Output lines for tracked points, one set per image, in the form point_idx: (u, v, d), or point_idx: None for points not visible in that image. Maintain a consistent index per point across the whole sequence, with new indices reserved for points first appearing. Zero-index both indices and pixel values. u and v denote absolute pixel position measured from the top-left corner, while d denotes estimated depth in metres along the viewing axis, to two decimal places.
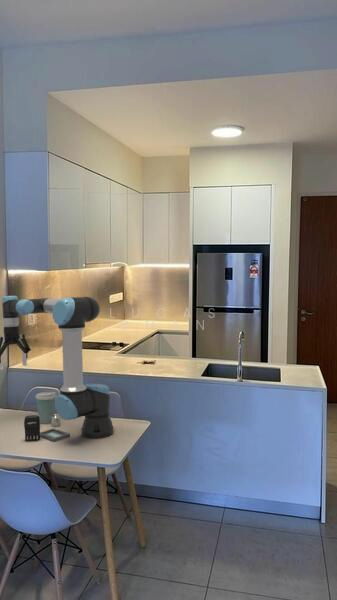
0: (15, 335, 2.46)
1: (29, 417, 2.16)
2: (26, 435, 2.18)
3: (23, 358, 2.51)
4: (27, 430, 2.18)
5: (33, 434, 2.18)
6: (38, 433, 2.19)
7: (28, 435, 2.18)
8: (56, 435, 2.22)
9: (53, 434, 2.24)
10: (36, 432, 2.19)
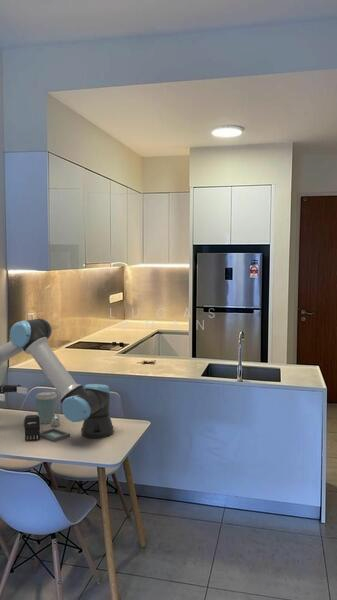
0: None
1: (29, 417, 2.16)
2: (26, 435, 2.18)
3: (20, 390, 2.30)
4: (27, 430, 2.18)
5: (33, 434, 2.18)
6: (38, 433, 2.19)
7: (28, 435, 2.18)
8: (56, 435, 2.22)
9: (53, 434, 2.24)
10: (36, 432, 2.19)
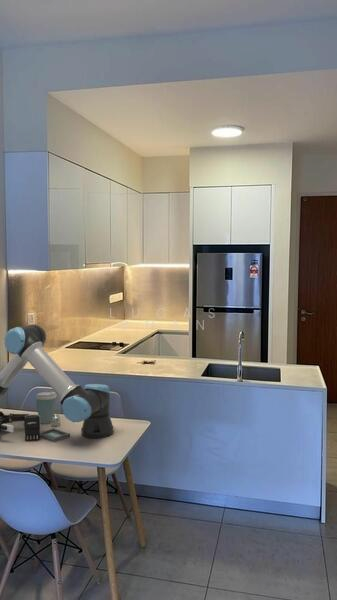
0: (2, 416, 2.30)
1: (29, 417, 2.16)
2: (26, 435, 2.18)
3: None
4: (27, 430, 2.18)
5: (33, 434, 2.18)
6: (38, 433, 2.19)
7: (28, 435, 2.18)
8: (56, 435, 2.22)
9: (53, 434, 2.24)
10: (36, 432, 2.19)
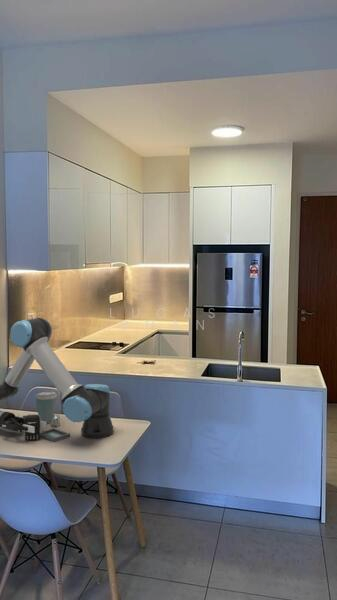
0: (14, 417, 2.27)
1: (29, 417, 2.16)
2: (26, 435, 2.18)
3: None
4: None
5: (33, 434, 2.18)
6: (38, 433, 2.19)
7: (28, 435, 2.18)
8: (56, 435, 2.22)
9: (53, 434, 2.24)
10: (36, 432, 2.19)
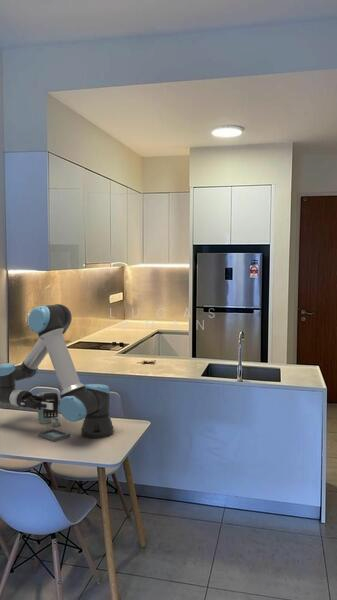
0: (31, 396, 2.30)
1: (48, 394, 2.20)
2: (44, 412, 2.21)
3: None
4: None
5: (51, 411, 2.22)
6: (56, 410, 2.22)
7: (46, 412, 2.21)
8: (56, 435, 2.22)
9: (53, 434, 2.24)
10: (54, 409, 2.22)
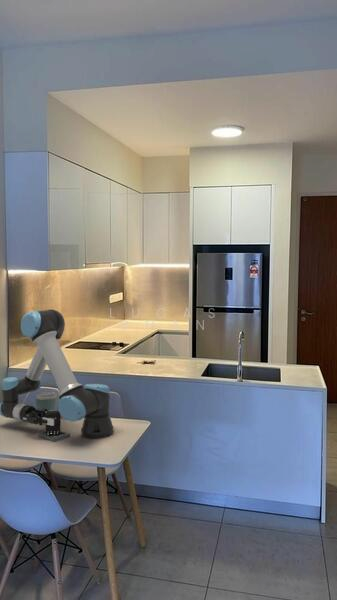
0: (34, 410, 2.31)
1: (50, 412, 2.20)
2: (47, 430, 2.22)
3: None
4: (48, 425, 2.22)
5: (54, 429, 2.23)
6: (58, 428, 2.23)
7: (49, 430, 2.22)
8: None
9: None
10: (56, 427, 2.23)
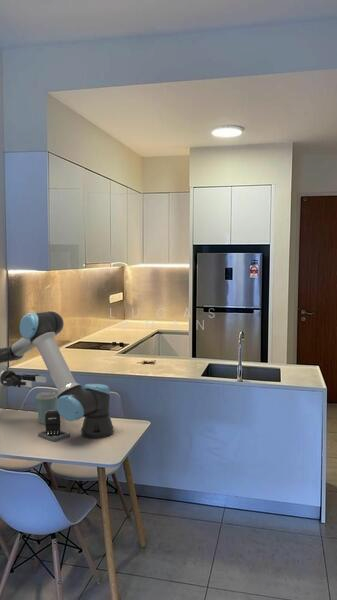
0: (14, 376, 2.41)
1: (50, 413, 2.20)
2: (47, 430, 2.22)
3: (39, 379, 2.36)
4: (48, 425, 2.22)
5: (54, 429, 2.23)
6: (58, 428, 2.23)
7: (49, 430, 2.22)
8: None
9: None
10: (56, 427, 2.23)
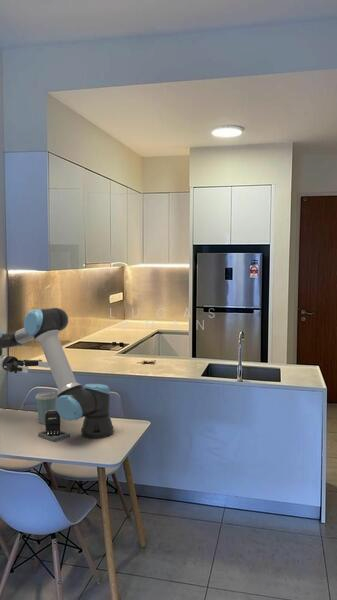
0: (17, 361, 2.42)
1: (50, 413, 2.20)
2: (47, 430, 2.22)
3: (42, 364, 2.40)
4: (48, 425, 2.22)
5: (54, 429, 2.23)
6: (58, 428, 2.23)
7: (49, 430, 2.22)
8: None
9: None
10: (56, 427, 2.23)
